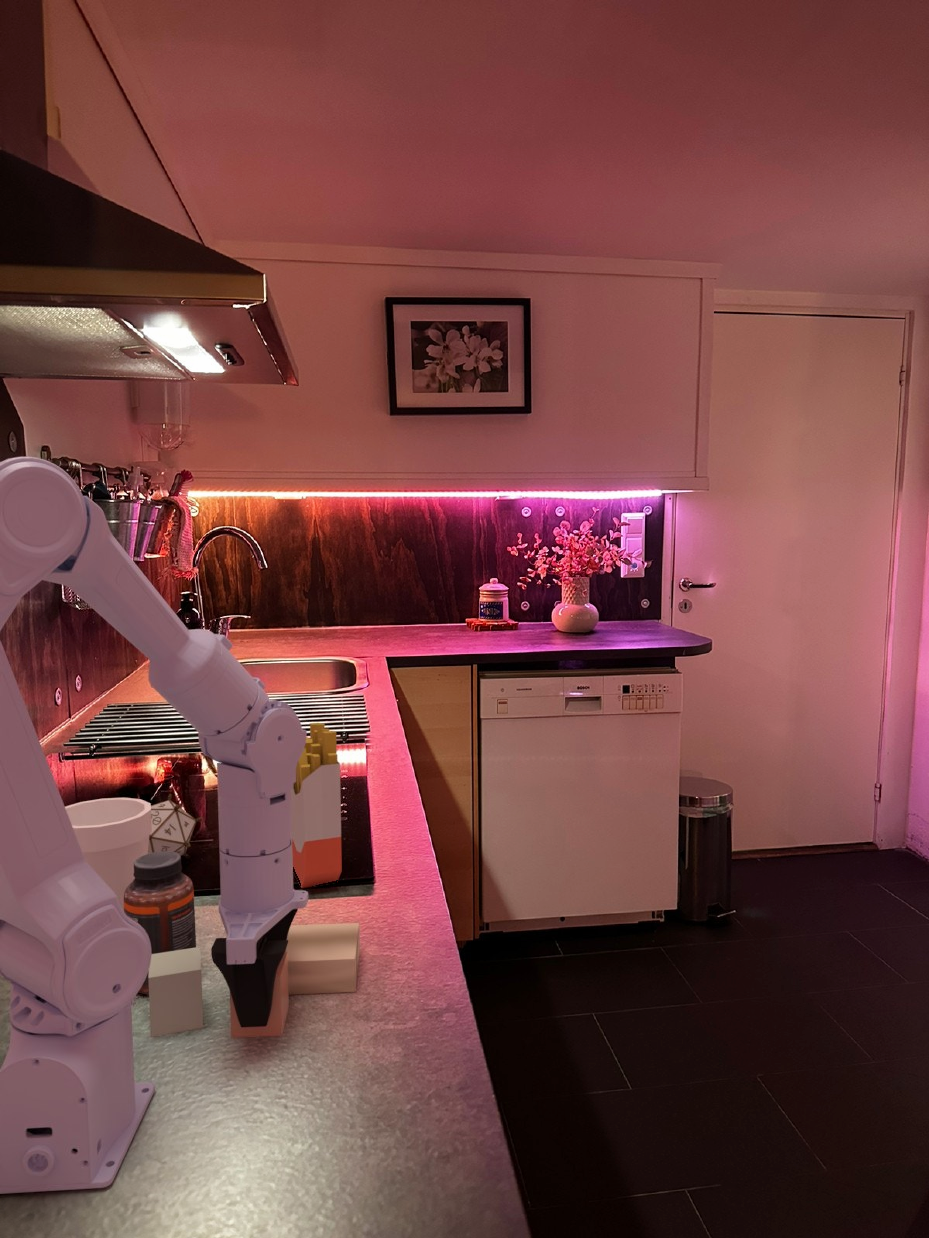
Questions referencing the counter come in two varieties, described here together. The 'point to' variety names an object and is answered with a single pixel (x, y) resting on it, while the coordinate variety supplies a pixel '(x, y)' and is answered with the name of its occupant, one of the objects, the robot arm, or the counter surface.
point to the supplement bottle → (162, 903)
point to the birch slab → (323, 958)
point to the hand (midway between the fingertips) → (260, 1005)
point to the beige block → (175, 992)
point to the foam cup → (112, 837)
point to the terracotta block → (277, 1010)
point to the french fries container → (317, 810)
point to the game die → (170, 828)
